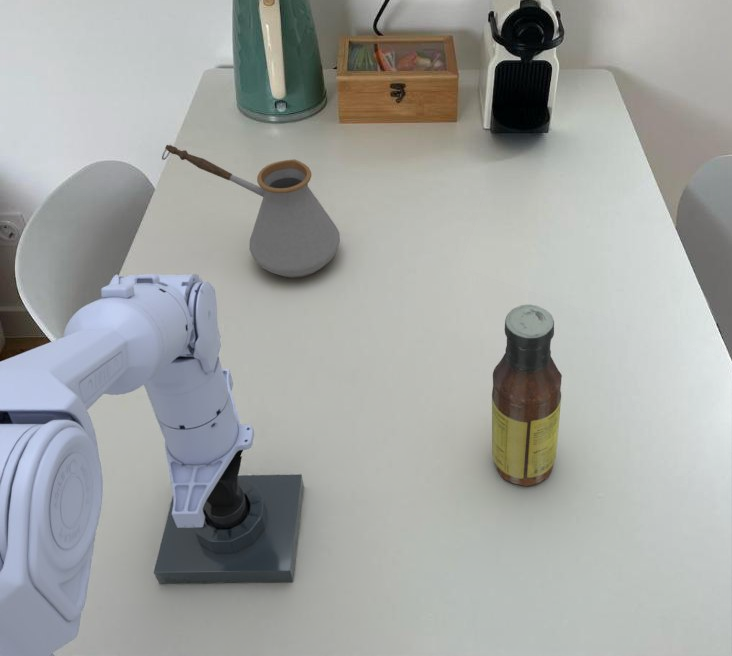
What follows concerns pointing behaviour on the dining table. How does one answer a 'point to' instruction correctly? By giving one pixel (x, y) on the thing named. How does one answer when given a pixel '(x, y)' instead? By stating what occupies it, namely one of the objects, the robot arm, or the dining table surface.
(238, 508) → the dark grey push button
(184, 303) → the robot arm
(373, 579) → the dining table surface
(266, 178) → the coffee pot
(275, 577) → the grey button housing
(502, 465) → the sauce bottle
